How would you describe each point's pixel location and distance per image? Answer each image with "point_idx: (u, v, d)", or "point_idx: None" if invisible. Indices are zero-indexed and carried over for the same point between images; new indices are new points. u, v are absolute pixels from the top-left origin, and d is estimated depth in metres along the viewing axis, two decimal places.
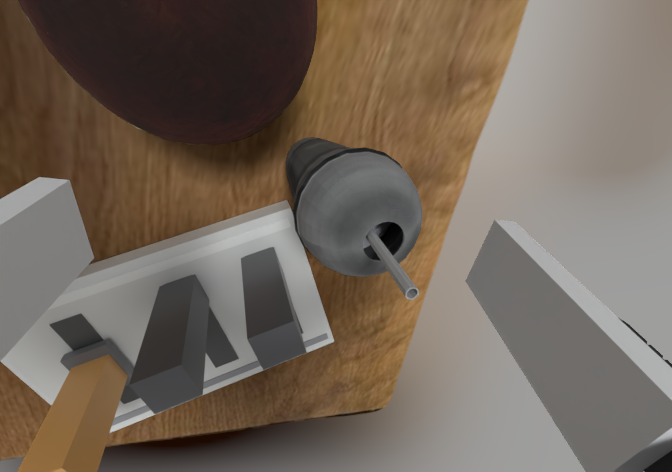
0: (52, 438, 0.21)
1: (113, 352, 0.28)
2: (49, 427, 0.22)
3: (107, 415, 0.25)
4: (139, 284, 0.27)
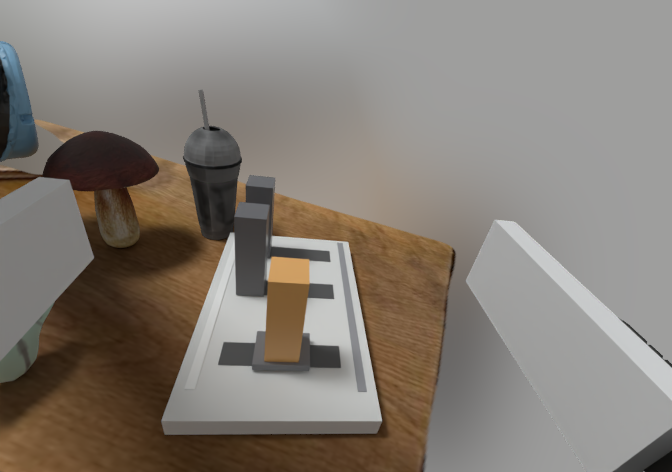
0: None
1: None
2: None
3: None
4: (226, 303, 0.34)
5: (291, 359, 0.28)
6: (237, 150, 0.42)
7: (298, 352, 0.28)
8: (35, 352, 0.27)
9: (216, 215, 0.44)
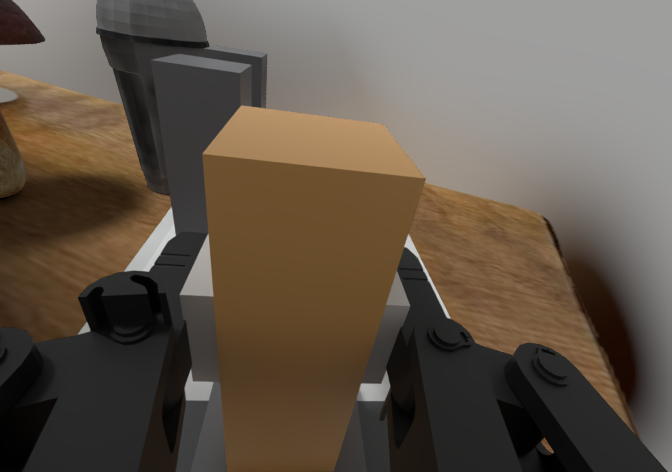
0: None
1: None
2: None
3: None
4: None
5: (313, 465, 0.09)
6: (198, 20, 0.23)
7: (335, 448, 0.09)
8: None
9: None
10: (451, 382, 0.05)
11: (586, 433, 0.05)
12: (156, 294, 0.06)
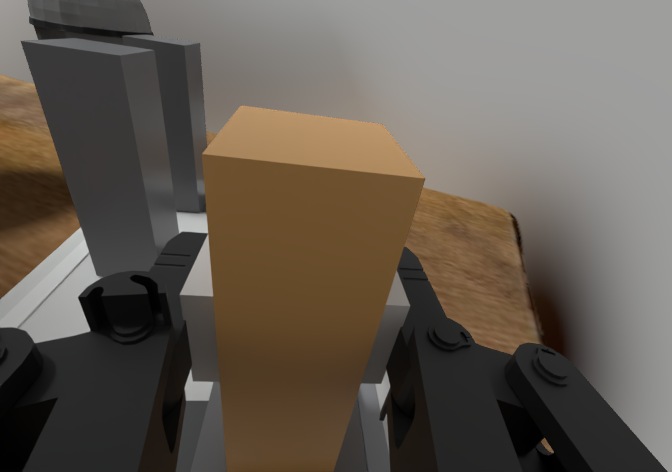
0: None
1: None
2: None
3: None
4: (62, 294, 0.15)
5: (312, 466, 0.09)
6: (138, 10, 0.22)
7: (335, 448, 0.09)
8: None
9: None
10: (451, 382, 0.05)
11: (586, 433, 0.05)
12: (156, 294, 0.06)
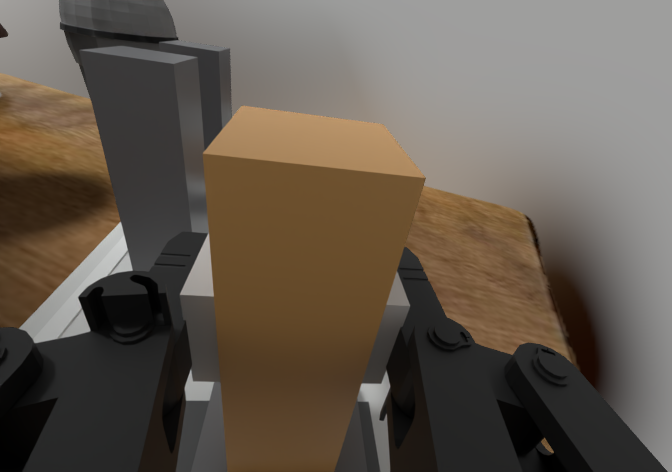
0: None
1: None
2: None
3: None
4: None
5: (313, 466, 0.09)
6: (165, 15, 0.23)
7: (336, 449, 0.09)
8: None
9: None
10: (451, 382, 0.05)
11: (586, 433, 0.05)
12: (156, 294, 0.06)
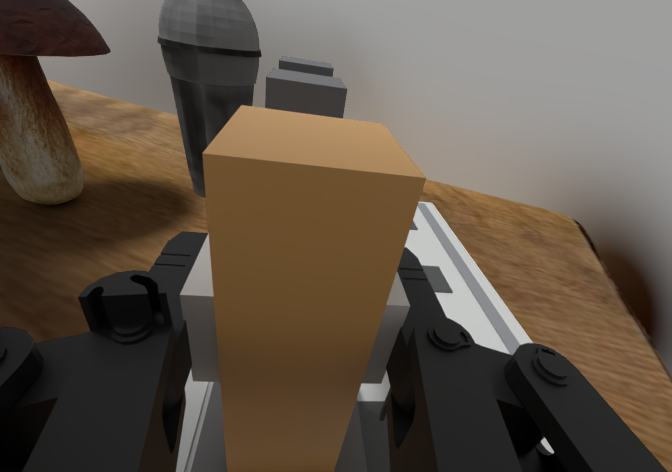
0: None
1: None
2: None
3: None
4: None
5: (312, 466, 0.09)
6: (255, 29, 0.23)
7: (336, 449, 0.09)
8: None
9: None
10: (451, 382, 0.05)
11: (586, 433, 0.05)
12: (156, 294, 0.06)
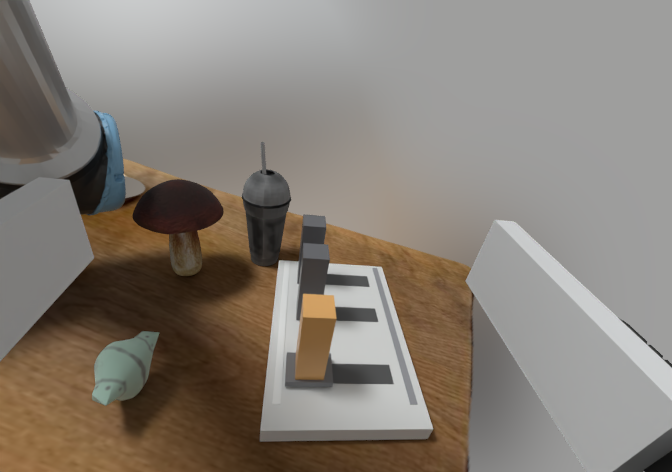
0: (300, 324, 0.31)
1: (296, 353, 0.36)
2: (299, 337, 0.31)
3: None
4: (289, 328, 0.40)
5: (317, 377, 0.34)
6: (288, 190, 0.48)
7: (324, 371, 0.33)
8: (148, 374, 0.33)
9: (267, 246, 0.50)
10: None
11: None
12: None
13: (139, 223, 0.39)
